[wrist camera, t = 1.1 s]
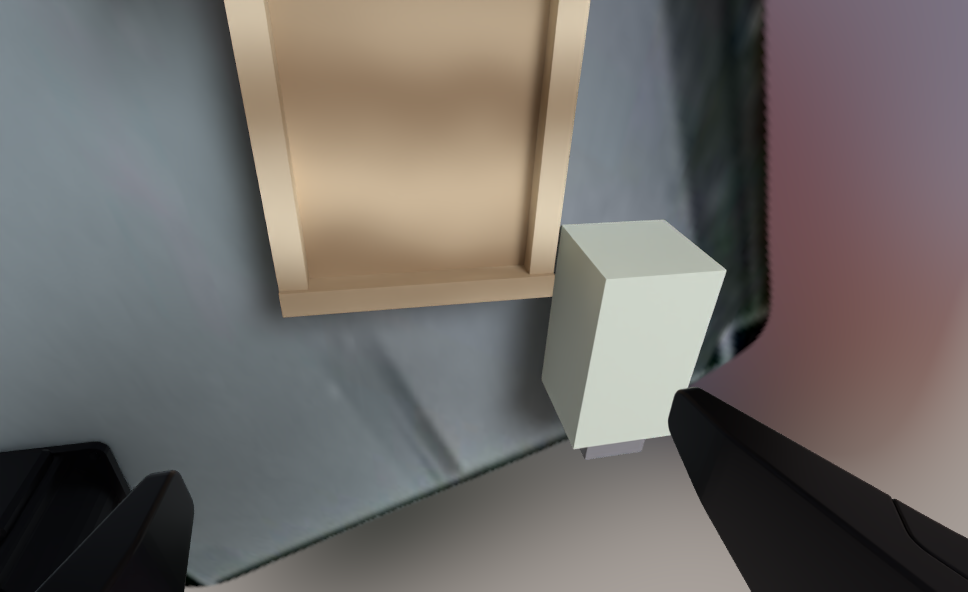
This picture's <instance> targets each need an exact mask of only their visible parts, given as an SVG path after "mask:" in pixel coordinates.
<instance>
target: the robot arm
mask: <svg viewBox="0 0 968 592" xmlns="http://www.w3.org/2000/svg"><path fill="white" fill-rule="evenodd" d="M668 428H669V431H670V434H671V436H672V438H673V441H674V443H675V445H676V447H677V449H678V452H679V454H680V456H681V459H682V461H683V463H684V466H685V468H686V470H687V472H688V475H689V477H690V479H691V482H692V484H693V486H694V488H695V490H696V493H697V495H698V497H699V499H700V501H701V503H702V505H703V507H704V509H705V510H706V512H707V514H708V516H709V518H710V519H711V521H712V523H713V525H714V526H715V528H716V530H717V532H718V534H719V535H720V537H721V539H722V541H723V542H724V544H725V546H726V548H727V550H728V551H729V553H730V555H731V557H732V558H733V560H734V562H735V563H736V566H737V567H738V569H739V571H740V573H741V574H742V576H743V578H744V580H745V581H746V583H747V585H748V587H749V588H750V590H751V592H968V538H966V537H964V536H962V535H960V534H958V533H956V532H954V531H952V530H951V529H949V528H947V527H945V526H943V525H942V524H940V523H938V522H936V521H934V520H932V519H930V518H929V517H927V516H925V515H923V514H921V513H920V512H918V511H916V510H914V509H913V508H911V507H909V506H907V505H906V504H904V503H902V502H900V501H898V500H897V499H892V498H891V497H890V496H889V495H888V494H886V493H884V492H882V491H880V490H879V489H877V488H875V487H874V486H872V485H870V484H868V483H866V482H865V481H863V480H861V479H859V478H858V477H856V476H854V475H852V474H851V473H849V472H847V471H845V470H844V469H842V468H840V467H838V466H837V465H835V464H833V463H831V462H829V461H828V460H826V459H824V458H822V457H821V456H819V455H817V454H815V453H814V452H811V451H810V450H808V449H807V448H805V447H803V446H801V445H799V444H798V443H796V442H794V441H792V440H791V439H789V438H787V437H785V436H784V435H782V434H780V433H778V432H776V431H775V430H773V429H771V428H769V427H768V426H766V425H764V424H762V423H761V422H759V421H757V420H755V419H754V418H752V417H750V416H748V415H747V414H744V413H743V412H741V411H740V410H738V409H736V408H734V407H732V406H731V405H729V404H727V403H725V402H723V401H722V400H720V399H718V398H717V397H715V396H713V395H711V394H709V393H708V392H706V391H704V390H702V389H700V388H698V387H691V388H685V389H679V390H678V391H677V392H676V393H675V395H674V398H673V402H672V406H671V409H670V413H669V417H668ZM94 452H95V453H94ZM193 519H194V504H193V500H192V498H191V496H190V493H189V491H188V489H187V487H186V485H185V483H184V481H183V479H182V477H181V475H180V473H179V472H178V471H176V470H170V471H163V472H157V473H152V474H149V475H148V476H146V477H145V478H144V479H143V480H142V481H141V482H140V483H139V484H138V485H137V486H136V487H135V488H134V489H133V490H132V491H130V489H129V487H128V485H127V483H126V481H125V479H124V476H123V474H122V472H121V470H120V468H119V466H118V464H117V462H116V460H115V458H114V456H113V454H112V452H111V449H110V448H109V446H108V445H106V444H104V443H101V442H88V443H79V444H71V445H62V446H54V447H45V448H36V449H28V450H19V451H11V452H2V453H0V592H184V589H185V581H186V573H187V565H188V558H189V550H190V542H191V534H192V526H193Z"/></svg>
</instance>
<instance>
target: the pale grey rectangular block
mask: <svg viewBox="0 0 968 592" xmlns="http://www.w3.org/2000/svg"><path fill="white" fill-rule="evenodd" d="M725 273H726V269H724V268H723V267H722V266H721V265H719V264H718V263H717V262H716V261H715V260H713V259H712V258H711V257H710V256H708V255H707V254H706V253H705V252H703V251H702V250H701V249H700V248H698V247H697V246H696V245H695V244H694V243H692V242H691V241H690V240H689V239H687V238H686V237H685V236H684V235H682V234H681V233H680V232H679V231H677V230H676V229H675V228H674V227H673V226H671V225H670V224H669V223H668V222H666V221H665V220H647V221H628V222H609V223H590V224H571V225H562V228H561V236H560V243H559V251H558V258H557V266H556V273H555V281H554V288H553V296H552V303H551V311H550V319H549V326H548V334H547V341H546V349H545V356H544V364H543V371H542V379H541V380H542V382H543V384H544V386H545V389H546V391H547V393H548V395H549V397H550V399H551V402H552V404H553V406H554V408H555V410H556V412H557V415H558V417H559V419H560V421H561V423H562V425H563V428H564V430H565V432H566V434H567V436H568V439H569V441H570V443H571V445H572V447H573V449H578V448H580V450H581V452H582V454H583V457H584V459H585V460H587V459H594V458H601V457H607V456H613V455H621V454H627V453H634V452H641V451H642V448H643V445H644V441H645V439H647V438H654V437H661V436H668V435H671V434H670V431H669V428H668V417H669V413H670V409H671V406H672V402H673V398H674V395H675V393H676V392H677V391H678V390H679V389H685V388H688V385H689V382H690V379H691V376H692V373H693V370H694V367H695V364H696V361H697V358H698V355H699V352H700V349H701V346H702V343H703V340H704V337H705V334H706V331H707V328H708V325H709V322H710V319H711V316H712V313H713V310H714V307H715V304H716V301H717V298H718V295H719V292H720V289H721V286H722V282H723V279H724V276H725Z"/></svg>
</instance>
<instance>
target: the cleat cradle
mask: <svg viewBox="0 0 968 592" xmlns="http://www.w3.org/2000/svg"><path fill="white" fill-rule="evenodd" d="M224 3H225V8H226V14H227V19H228V24H229V30H230V35H231V40H232V45H233V51H234V56H235V61H236V66H237V72H238V77H239V82H240V88H241V93H242V98H243V103H244V109H245V114H246V119H247V125H248V130H249V135H250V140H251V146H252V151H253V156H254V161H255V167H256V172H257V177H258V183H259V188H260V193H261V198H262V204H263V209H264V214H265V219H266V225H267V230H268V235H269V241H270V246H271V251H272V256H273V262H274V267H275V272H276V278H277V283H278V288H279V300H280V305H281V310H282V315H283V318H284V317H297V316H310V315H322V314H335V313H348V312H361V311H374V310H387V309H400V308H412V307H425V306H438V305H451V304H464V303H477V302H490V301H502V300H515V299H528V298H541V297H552V294H553V287H554V280H555V274H554V265H555V258H556V251H557V243H558V236H559V228H560V221H561V214H562V206H563V199H564V191H565V184H566V177H567V169H568V162H569V154H570V147H571V140H572V132H573V125H574V118H575V110H576V103H577V95H578V88H579V81H580V73H581V66H582V58H583V51H584V44H585V36H586V29H587V21H588V14H589V7H590V0H224Z"/></svg>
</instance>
